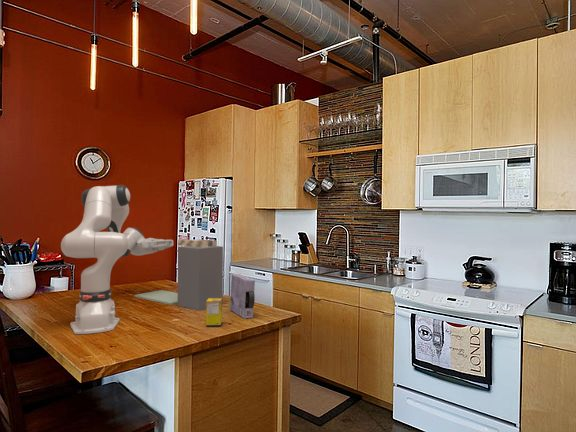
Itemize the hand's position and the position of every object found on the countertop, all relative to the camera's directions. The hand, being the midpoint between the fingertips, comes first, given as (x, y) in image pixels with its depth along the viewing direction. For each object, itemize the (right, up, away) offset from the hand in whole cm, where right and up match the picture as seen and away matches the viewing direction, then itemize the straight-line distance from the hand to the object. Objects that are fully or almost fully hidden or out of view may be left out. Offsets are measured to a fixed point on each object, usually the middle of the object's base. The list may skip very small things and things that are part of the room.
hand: (164, 242), depth 214 cm
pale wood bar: (+25, -1, -10) cm, 27 cm away
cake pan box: (+46, -32, -32) cm, 65 cm away
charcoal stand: (+23, -31, -14) cm, 41 cm away
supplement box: (+37, -32, -49) cm, 69 cm away
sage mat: (0, -31, +2) cm, 31 cm away
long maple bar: (+18, -1, -11) cm, 22 cm away
